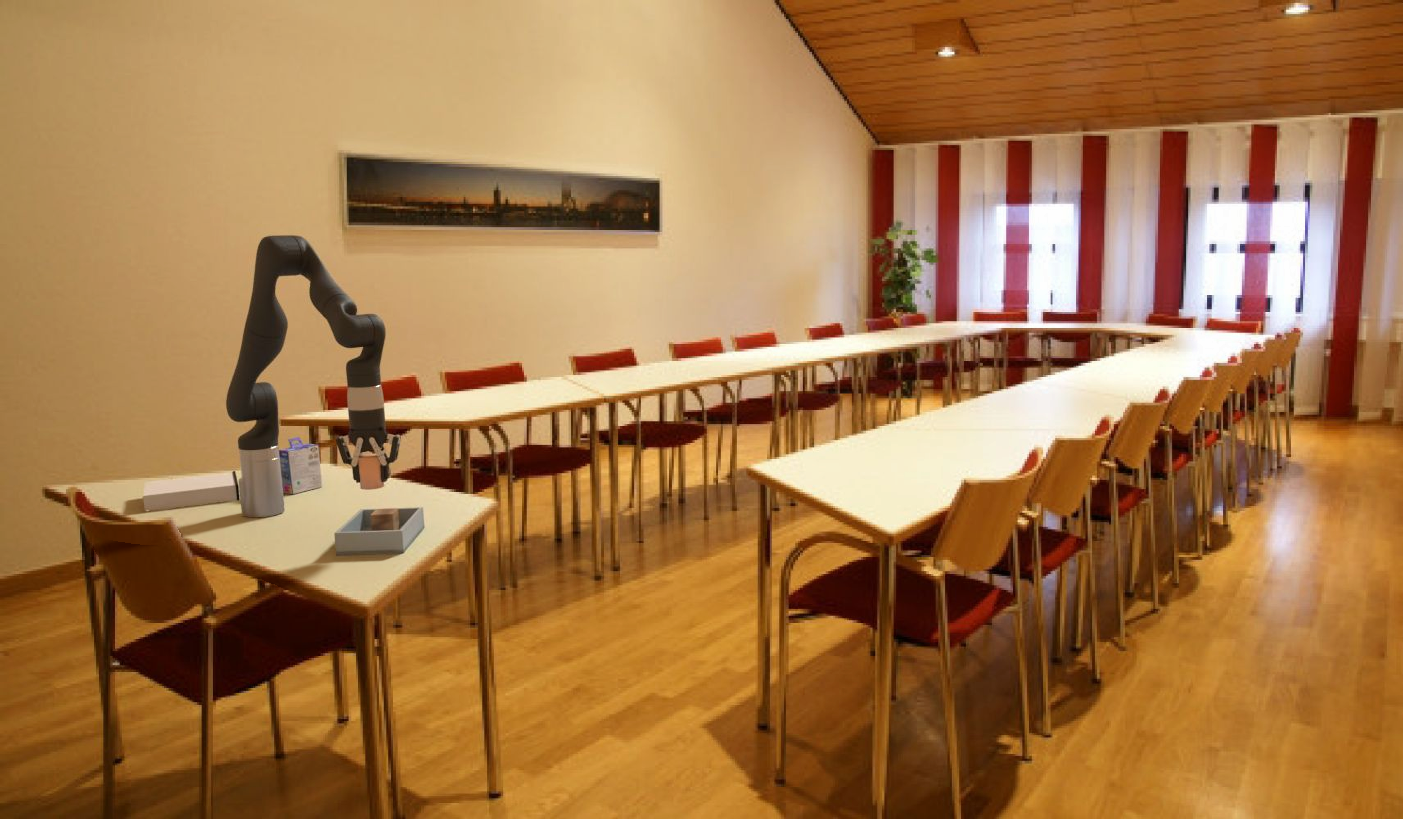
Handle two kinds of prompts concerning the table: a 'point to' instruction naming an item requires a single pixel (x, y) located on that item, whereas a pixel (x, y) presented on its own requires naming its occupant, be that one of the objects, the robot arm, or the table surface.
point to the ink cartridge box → (300, 467)
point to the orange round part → (370, 472)
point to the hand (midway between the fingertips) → (372, 481)
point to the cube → (385, 519)
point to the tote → (378, 533)
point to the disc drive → (190, 491)
